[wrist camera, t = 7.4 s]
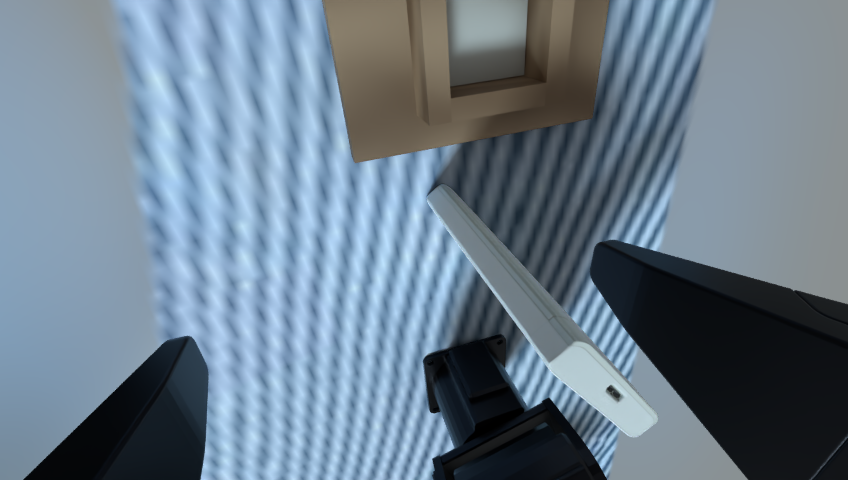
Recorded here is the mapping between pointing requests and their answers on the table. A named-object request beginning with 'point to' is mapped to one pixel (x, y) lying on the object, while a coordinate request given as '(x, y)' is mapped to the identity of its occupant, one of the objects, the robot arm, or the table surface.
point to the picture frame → (461, 69)
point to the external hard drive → (543, 319)
